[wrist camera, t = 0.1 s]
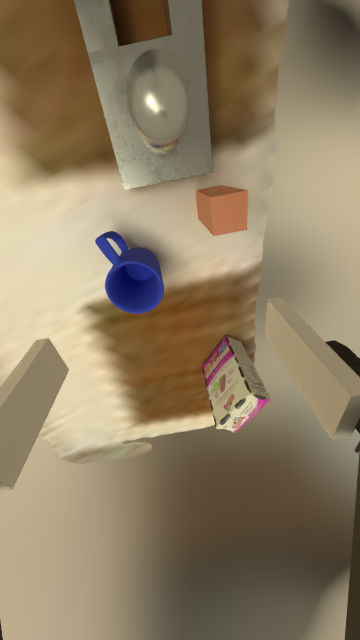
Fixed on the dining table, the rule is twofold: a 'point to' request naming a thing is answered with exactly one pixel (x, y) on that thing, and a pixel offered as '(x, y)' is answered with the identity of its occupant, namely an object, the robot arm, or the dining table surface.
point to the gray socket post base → (152, 93)
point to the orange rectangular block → (222, 209)
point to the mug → (131, 276)
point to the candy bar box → (233, 385)
